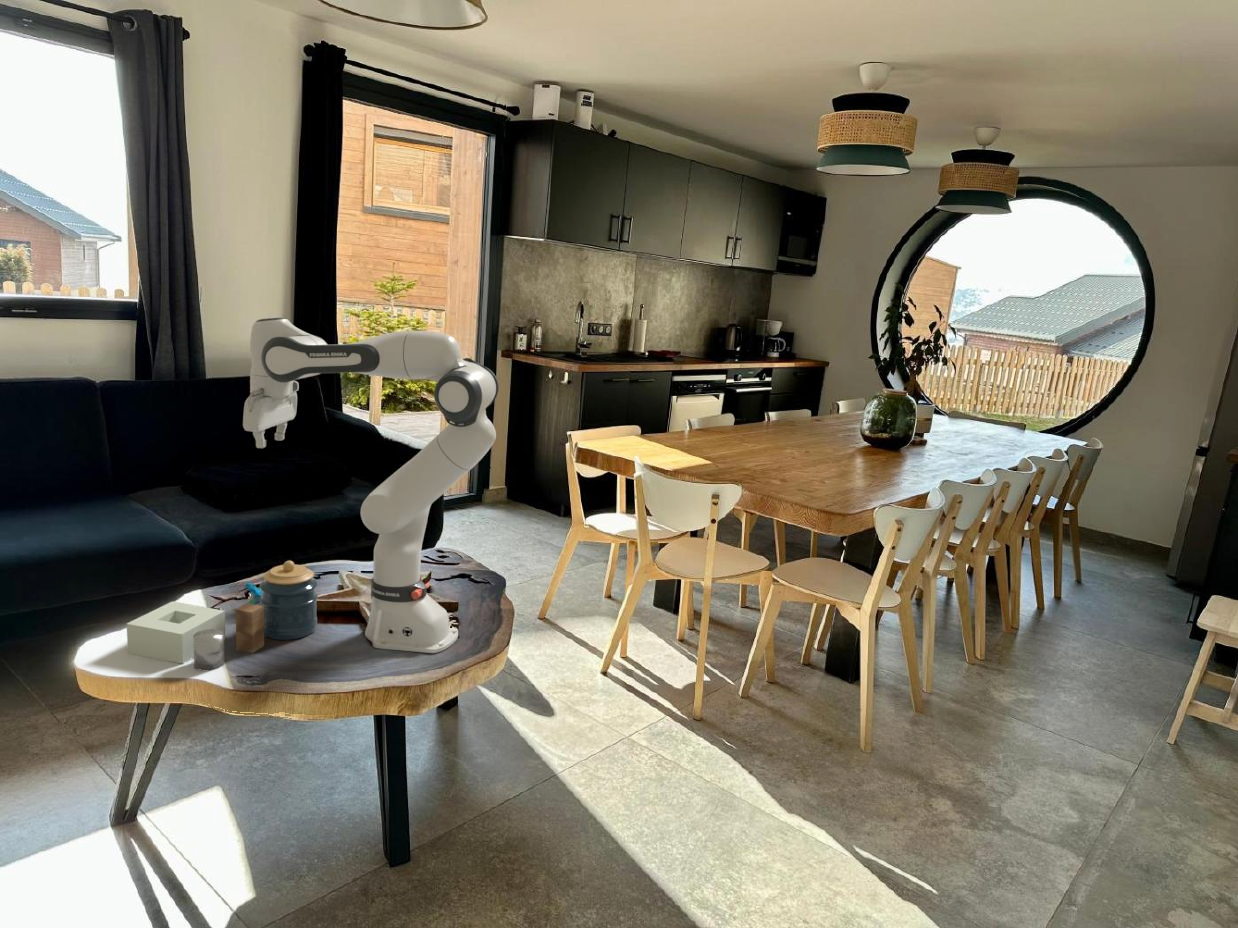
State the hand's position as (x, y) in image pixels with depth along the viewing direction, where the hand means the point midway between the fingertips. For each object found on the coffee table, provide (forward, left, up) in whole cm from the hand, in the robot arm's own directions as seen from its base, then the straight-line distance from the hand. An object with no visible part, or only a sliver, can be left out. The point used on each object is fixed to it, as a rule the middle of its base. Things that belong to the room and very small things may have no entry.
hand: (270, 443), depth 201 cm
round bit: (-3, +27, -45) cm, 52 cm away
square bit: (-6, +17, -45) cm, 48 cm away
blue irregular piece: (+5, -3, -45) cm, 45 cm away
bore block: (+9, +22, -44) cm, 50 cm away
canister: (-8, +5, -45) cm, 46 cm away
